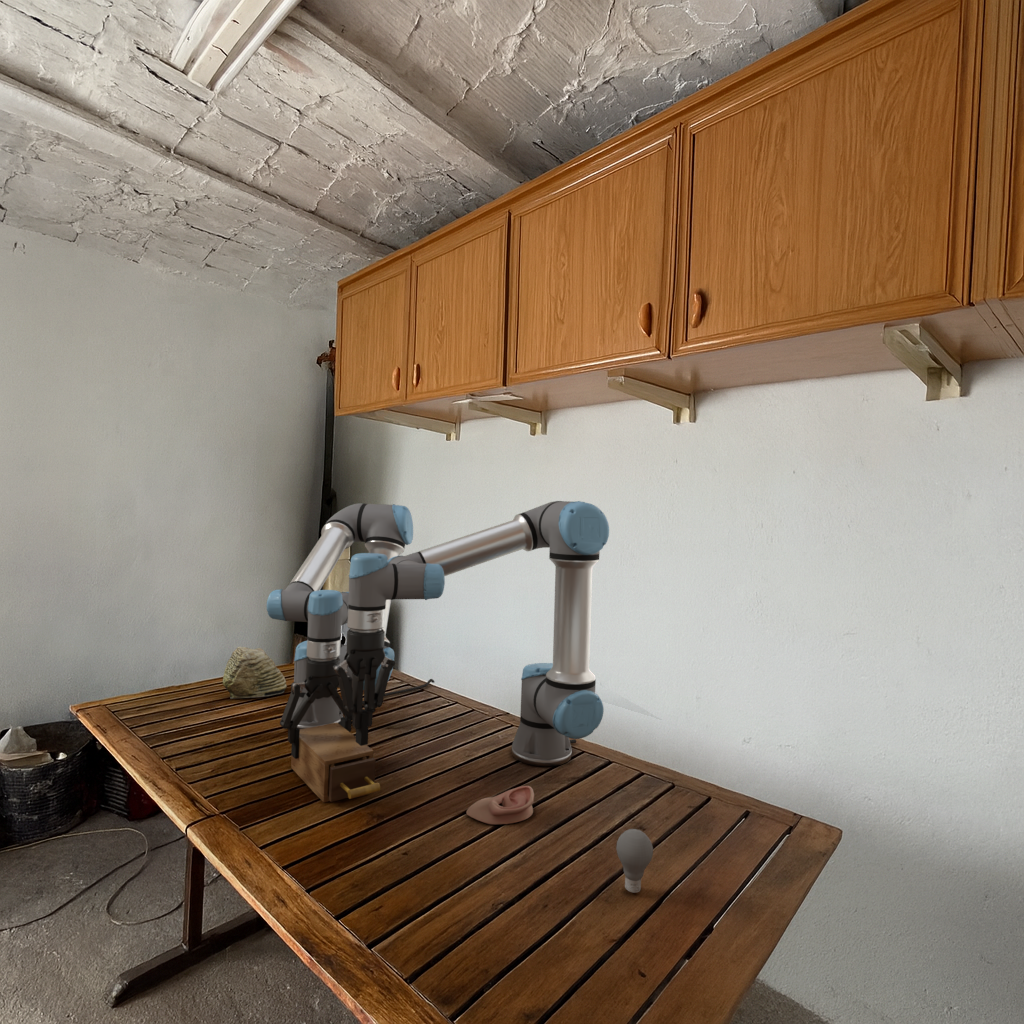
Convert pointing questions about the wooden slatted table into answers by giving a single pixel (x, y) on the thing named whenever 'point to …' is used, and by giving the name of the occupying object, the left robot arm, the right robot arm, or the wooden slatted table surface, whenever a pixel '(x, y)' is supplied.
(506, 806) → the anatomical model
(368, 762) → the drawer
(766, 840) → the wooden slatted table surface
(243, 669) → the fossil
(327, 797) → the cabinet
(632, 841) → the light bulb
